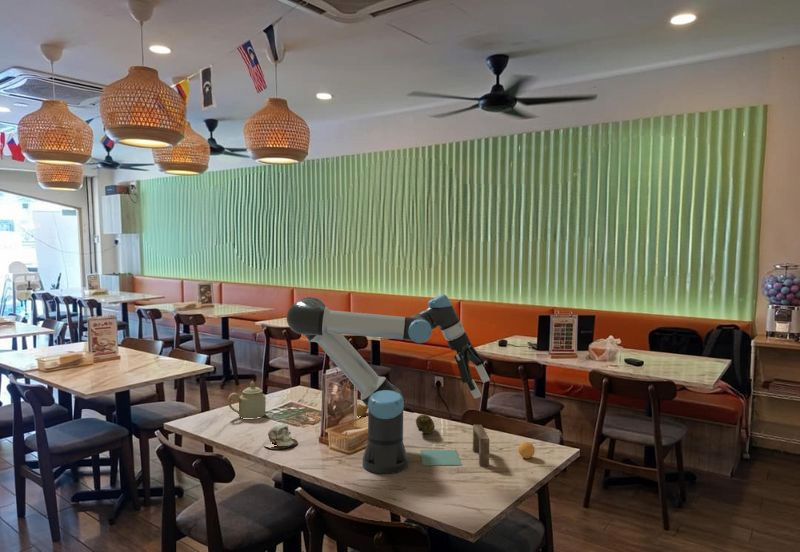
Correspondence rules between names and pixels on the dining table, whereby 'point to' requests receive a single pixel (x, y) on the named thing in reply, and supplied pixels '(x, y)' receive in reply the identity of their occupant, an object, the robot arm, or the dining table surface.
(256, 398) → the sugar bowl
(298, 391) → the dining table surface
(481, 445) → the bridge
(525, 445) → the ball
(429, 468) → the dining table surface
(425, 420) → the dark green avocado
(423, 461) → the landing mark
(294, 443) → the skull
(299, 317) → the robot arm
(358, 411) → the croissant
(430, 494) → the dining table surface
